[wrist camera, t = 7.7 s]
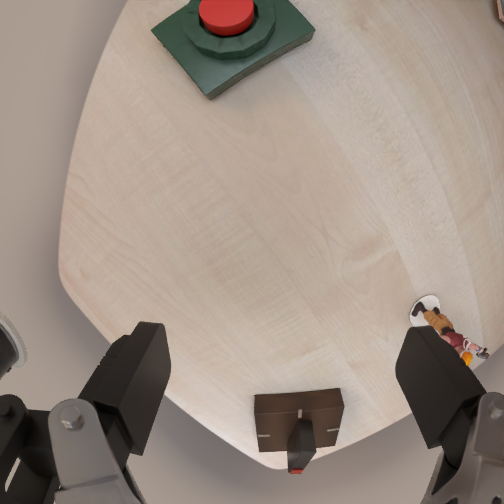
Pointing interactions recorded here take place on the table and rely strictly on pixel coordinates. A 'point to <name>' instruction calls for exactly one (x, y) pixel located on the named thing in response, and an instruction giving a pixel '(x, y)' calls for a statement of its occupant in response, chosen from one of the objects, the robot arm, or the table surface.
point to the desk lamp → (501, 9)
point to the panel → (297, 417)
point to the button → (227, 15)
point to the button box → (231, 43)
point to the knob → (301, 447)
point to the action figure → (443, 327)
